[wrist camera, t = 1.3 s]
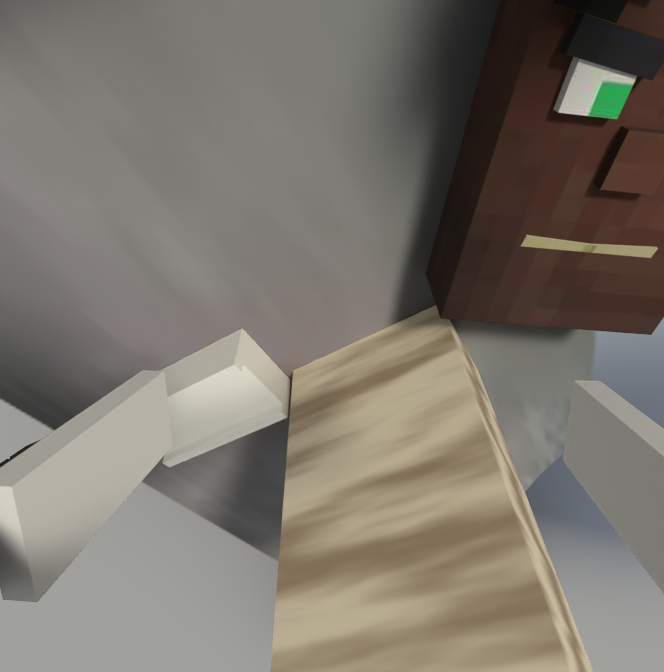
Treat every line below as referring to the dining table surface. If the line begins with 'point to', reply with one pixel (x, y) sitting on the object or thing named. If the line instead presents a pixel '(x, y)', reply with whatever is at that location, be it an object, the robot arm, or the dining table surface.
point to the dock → (222, 396)
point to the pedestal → (410, 521)
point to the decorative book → (560, 173)
